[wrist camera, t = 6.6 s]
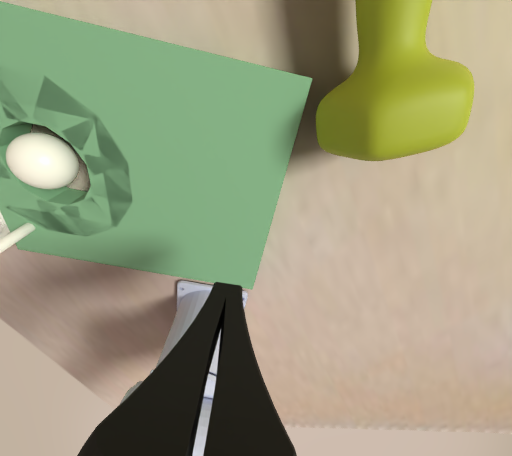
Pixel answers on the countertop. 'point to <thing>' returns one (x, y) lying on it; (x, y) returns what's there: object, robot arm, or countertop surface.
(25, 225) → the flag pin
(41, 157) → the ball
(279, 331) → the countertop surface
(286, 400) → the countertop surface
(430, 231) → the countertop surface
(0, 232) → the spread jar
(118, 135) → the green flat board
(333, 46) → the countertop surface
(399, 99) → the dumbbell
